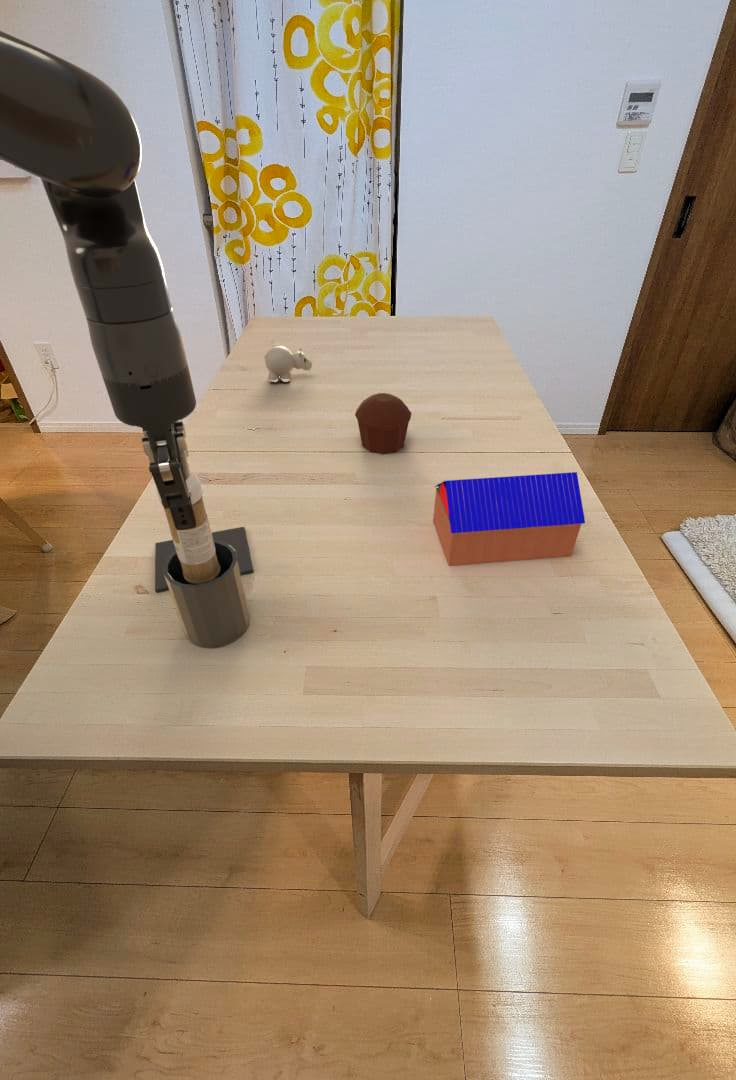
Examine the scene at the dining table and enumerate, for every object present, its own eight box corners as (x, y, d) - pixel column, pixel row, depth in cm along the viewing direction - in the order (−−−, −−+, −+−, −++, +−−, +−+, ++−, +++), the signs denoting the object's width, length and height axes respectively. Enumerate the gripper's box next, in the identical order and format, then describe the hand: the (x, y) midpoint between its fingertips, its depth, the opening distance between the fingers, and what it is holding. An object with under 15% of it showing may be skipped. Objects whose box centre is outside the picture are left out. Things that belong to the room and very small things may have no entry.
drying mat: (155, 592, 74) (154, 589, 74) (156, 545, 82) (155, 542, 82) (253, 572, 78) (253, 569, 77) (244, 529, 86) (244, 526, 85)
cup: (185, 655, 66) (163, 594, 59) (183, 607, 72) (163, 547, 65) (253, 639, 68) (240, 578, 61) (245, 594, 74) (232, 534, 67)
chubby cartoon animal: (314, 383, 132) (312, 350, 126) (266, 386, 131) (262, 352, 125) (313, 373, 137) (311, 340, 132) (267, 375, 136) (263, 342, 131)
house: (573, 557, 80) (594, 494, 72) (446, 567, 78) (454, 504, 71) (544, 511, 89) (560, 451, 82) (430, 519, 87) (436, 459, 80)
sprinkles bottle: (184, 564, 65) (156, 473, 57) (221, 558, 66) (199, 468, 58) (183, 589, 62) (153, 496, 53) (222, 583, 63) (199, 490, 54)
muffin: (417, 453, 105) (420, 406, 98) (365, 461, 102) (364, 414, 96) (398, 426, 113) (400, 382, 107) (349, 433, 111) (348, 389, 105)
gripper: (106, 342, 52) (151, 485, 63) (92, 400, 41) (149, 560, 52) (184, 335, 53) (215, 475, 64) (190, 389, 43) (225, 546, 54)
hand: (185, 513), depth 58 cm, fingers closed on sprinkles bottle, 4 cm apart
